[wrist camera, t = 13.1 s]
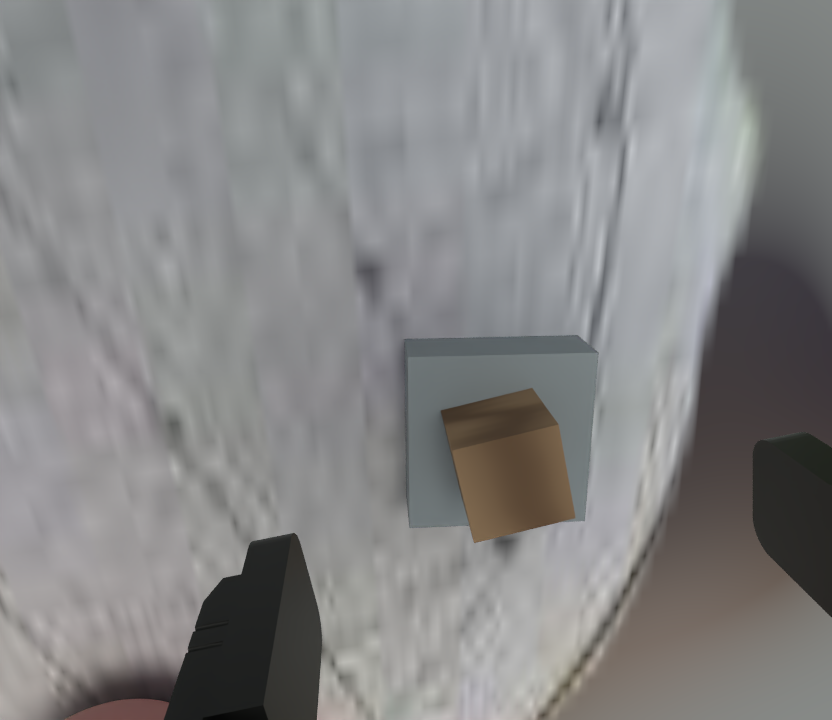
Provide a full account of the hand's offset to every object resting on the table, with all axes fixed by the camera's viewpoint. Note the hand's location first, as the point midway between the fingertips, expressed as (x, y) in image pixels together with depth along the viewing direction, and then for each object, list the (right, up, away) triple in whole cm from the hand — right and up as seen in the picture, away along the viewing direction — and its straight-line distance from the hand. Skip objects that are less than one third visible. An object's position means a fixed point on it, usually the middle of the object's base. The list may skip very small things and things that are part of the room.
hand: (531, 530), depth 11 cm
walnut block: (+2, -1, +24) cm, 24 cm away
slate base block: (+2, 0, +27) cm, 28 cm away
